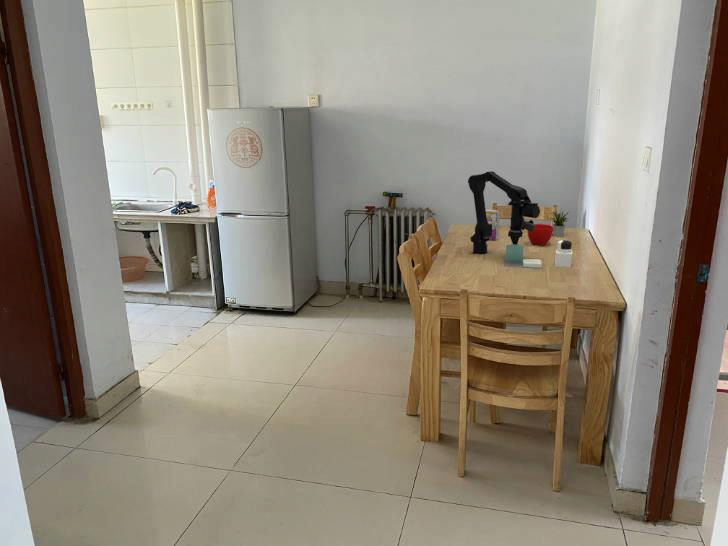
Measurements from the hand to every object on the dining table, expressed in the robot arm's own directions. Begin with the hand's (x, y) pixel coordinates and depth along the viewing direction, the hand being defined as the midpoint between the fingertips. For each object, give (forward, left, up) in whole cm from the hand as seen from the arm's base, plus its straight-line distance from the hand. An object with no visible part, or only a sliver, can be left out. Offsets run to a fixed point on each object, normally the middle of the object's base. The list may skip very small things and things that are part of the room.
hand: (515, 247), depth 272 cm
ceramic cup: (+11, +41, -7) cm, 43 cm away
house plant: (+18, +65, -7) cm, 68 cm away
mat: (+4, -5, -7) cm, 9 cm away
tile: (0, -2, -6) cm, 6 cm away
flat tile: (+8, -8, -6) cm, 13 cm away
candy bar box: (-18, +45, -7) cm, 49 cm away
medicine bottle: (+22, -3, -7) cm, 23 cm away
